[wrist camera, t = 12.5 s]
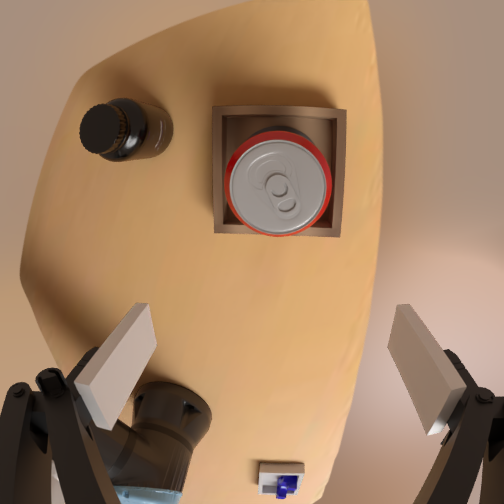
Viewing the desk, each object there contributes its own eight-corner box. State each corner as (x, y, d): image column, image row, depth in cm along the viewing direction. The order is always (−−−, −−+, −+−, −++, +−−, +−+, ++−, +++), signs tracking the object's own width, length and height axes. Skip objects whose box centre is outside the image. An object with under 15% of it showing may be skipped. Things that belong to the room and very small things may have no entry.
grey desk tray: (258, 485, 60) (258, 493, 58) (260, 462, 56) (259, 472, 53) (297, 486, 60) (297, 495, 57) (304, 463, 55) (304, 473, 52)
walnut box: (220, 223, 38) (214, 233, 34) (219, 110, 33) (212, 106, 29) (334, 227, 36) (340, 237, 33) (339, 113, 32) (346, 109, 28)
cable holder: (283, 473, 56) (283, 486, 52) (297, 475, 56) (297, 488, 52) (271, 485, 59) (270, 497, 55) (284, 486, 59) (283, 499, 55)
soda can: (262, 213, 36) (251, 262, 22) (232, 154, 33) (198, 162, 19) (323, 185, 34) (354, 216, 20) (294, 124, 32) (305, 110, 18)
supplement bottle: (183, 143, 34) (140, 145, 23) (137, 166, 36) (84, 179, 25) (163, 95, 32) (115, 80, 21) (119, 120, 34) (62, 118, 23)
